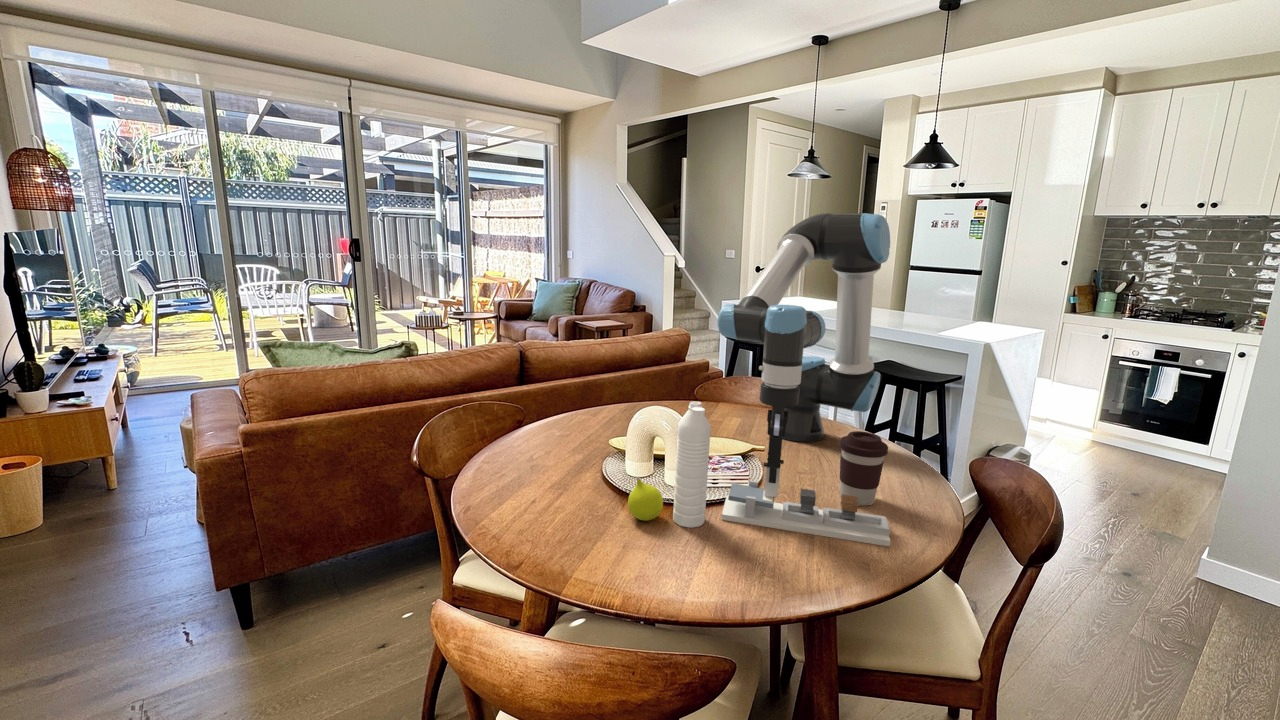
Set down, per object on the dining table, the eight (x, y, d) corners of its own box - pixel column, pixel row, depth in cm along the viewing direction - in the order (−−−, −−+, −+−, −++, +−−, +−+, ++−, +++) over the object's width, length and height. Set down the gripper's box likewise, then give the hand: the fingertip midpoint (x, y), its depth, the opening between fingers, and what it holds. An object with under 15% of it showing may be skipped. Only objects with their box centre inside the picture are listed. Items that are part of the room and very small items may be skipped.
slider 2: (838, 516, 114) (841, 494, 113) (853, 519, 114) (856, 496, 113) (840, 524, 111) (842, 501, 110) (855, 527, 111) (858, 503, 110)
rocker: (731, 486, 121) (732, 481, 121) (774, 494, 119) (774, 489, 119) (728, 500, 115) (728, 495, 114) (772, 509, 113) (773, 503, 112)
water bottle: (671, 512, 117) (677, 397, 112) (702, 512, 117) (709, 398, 112) (675, 533, 109) (681, 410, 103) (708, 534, 109) (716, 411, 103)
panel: (726, 500, 123) (728, 476, 122) (882, 524, 115) (886, 498, 114) (721, 519, 115) (723, 494, 114) (889, 546, 107) (893, 519, 106)
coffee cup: (884, 512, 120) (894, 446, 117) (836, 506, 122) (844, 441, 119) (875, 492, 130) (883, 431, 127) (830, 487, 132) (837, 426, 129)
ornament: (622, 512, 116) (624, 467, 114) (654, 508, 119) (656, 463, 117) (634, 529, 110) (636, 482, 108) (667, 524, 112) (670, 477, 110)
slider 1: (798, 510, 116) (801, 488, 115) (812, 512, 116) (815, 490, 115) (798, 518, 113) (801, 495, 112) (813, 520, 113) (815, 497, 111)
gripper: (762, 375, 118) (754, 480, 123) (759, 390, 105) (750, 506, 110) (799, 378, 116) (790, 484, 121) (800, 393, 104) (789, 511, 108)
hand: (771, 494), depth 115 cm, fingers closed
